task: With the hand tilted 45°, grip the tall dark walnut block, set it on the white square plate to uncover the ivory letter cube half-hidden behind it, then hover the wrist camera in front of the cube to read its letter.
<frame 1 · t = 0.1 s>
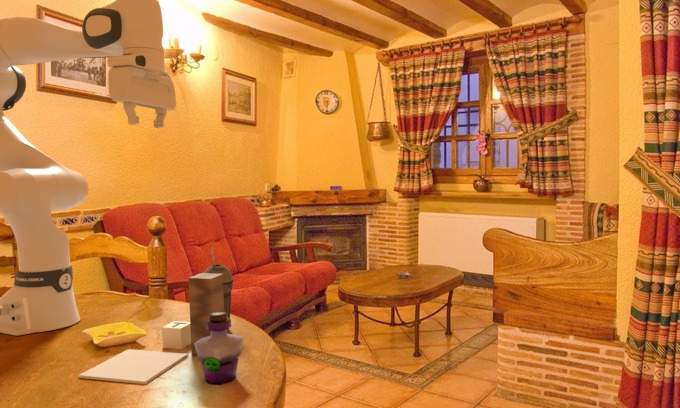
hand: (146, 126, 117), 48 cm above the table, tool pointing down, fingers open, 8 cm apart
letter cube: (178, 345, 111), on the table
potion bottle: (220, 379, 92), on the table
walnut block: (208, 352, 106), on the table
white square plate: (136, 366, 99), on the table
beverage cup: (219, 331, 121), on the table
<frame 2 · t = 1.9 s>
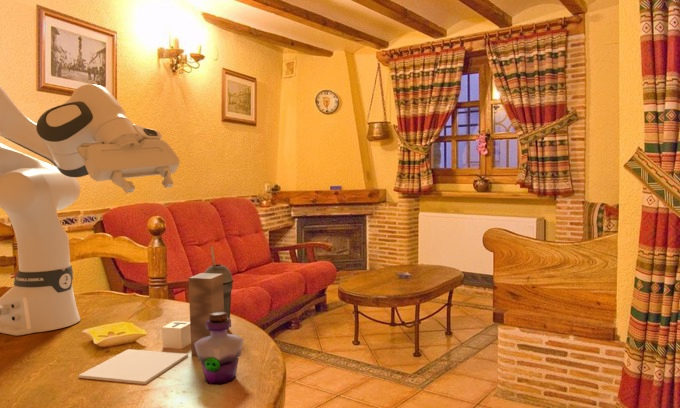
hand: (150, 188, 109), 34 cm above the table, tool tilted 45°, fingers open, 8 cm apart
nothing on the table moved.
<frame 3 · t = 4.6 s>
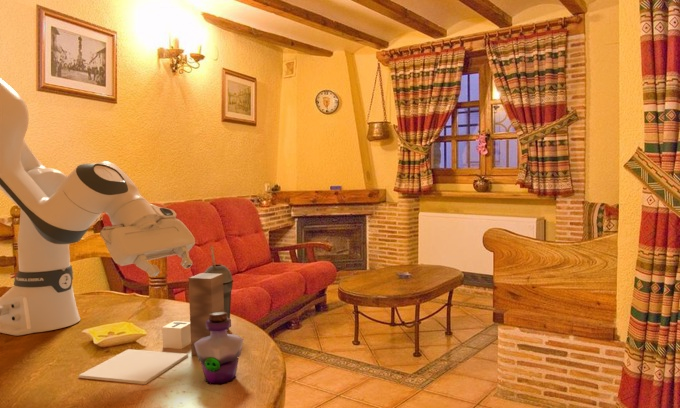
hand: (173, 270, 108), 17 cm above the table, tool tilted 45°, fingers open, 8 cm apart
nothing on the table moved.
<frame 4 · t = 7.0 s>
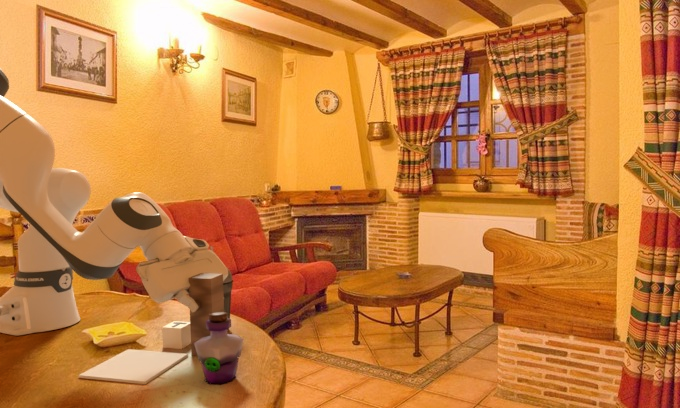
hand: (209, 305, 105), 10 cm above the table, tool tilted 45°, fingers closed on walnut block, 6 cm apart
walnut block: (208, 352, 106), on the table, touching gripper
everything else where it was.
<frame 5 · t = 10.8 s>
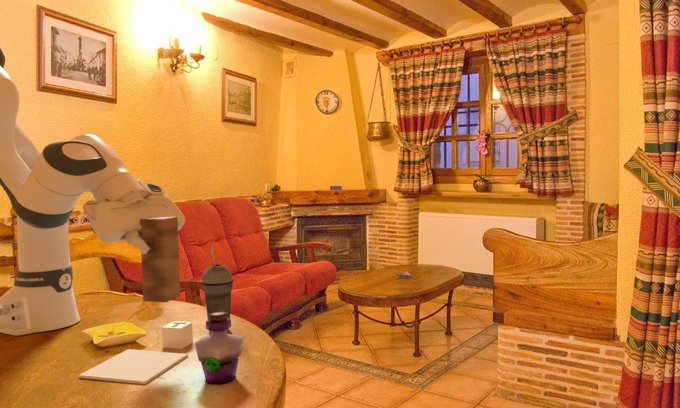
hand: (162, 249, 100), 22 cm above the table, tool tilted 45°, fingers closed on walnut block, 6 cm apart
walnut block: (162, 298, 101), point 12 cm above the table, touching gripper
everything else where it was.
when the fingers open (11 cm above the table, at t = 14.5 s): walnut block stays where it is, resting on white square plate.
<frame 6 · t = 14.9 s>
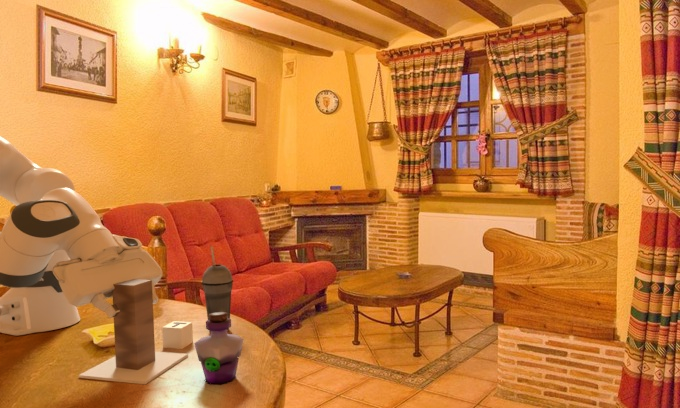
hand: (135, 308, 98), 11 cm above the table, tool tilted 45°, fingers open, 8 cm apart
walnut block: (136, 363, 99), resting on white square plate
everything else where it was.
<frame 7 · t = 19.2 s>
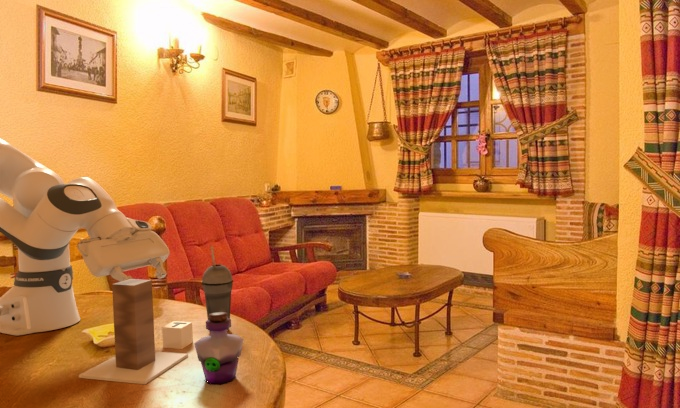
hand: (147, 280, 114), 13 cm above the table, tool tilted 45°, fingers open, 8 cm apart
nothing on the table moved.
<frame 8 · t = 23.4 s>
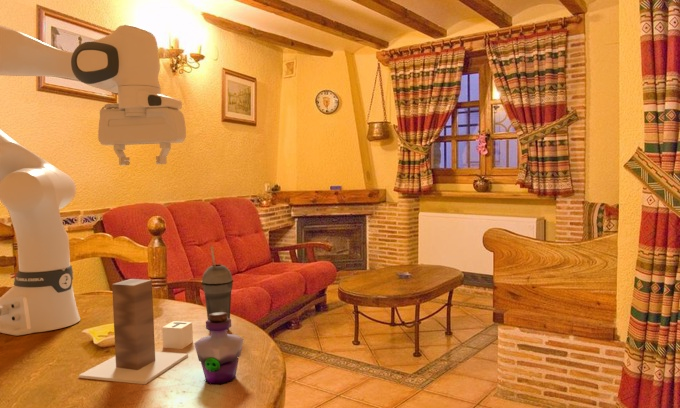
hand: (142, 164, 114), 39 cm above the table, tool pointing down, fingers open, 8 cm apart
nothing on the table moved.
at the end: walnut block inside the target area on the white square plate (0.0 cm from its centre), point 0.5 cm above the white square plate's base; walnut block tilted 0°; letter cube moved 0.1 cm from its start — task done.
